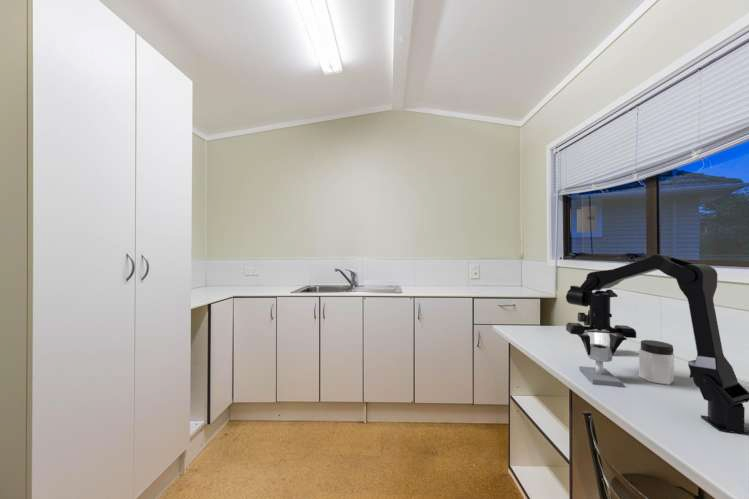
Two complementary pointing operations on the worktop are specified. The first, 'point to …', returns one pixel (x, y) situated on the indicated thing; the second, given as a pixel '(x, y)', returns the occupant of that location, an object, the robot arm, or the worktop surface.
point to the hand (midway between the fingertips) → (599, 355)
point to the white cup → (602, 338)
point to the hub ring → (600, 353)
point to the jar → (656, 362)
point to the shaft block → (600, 375)
